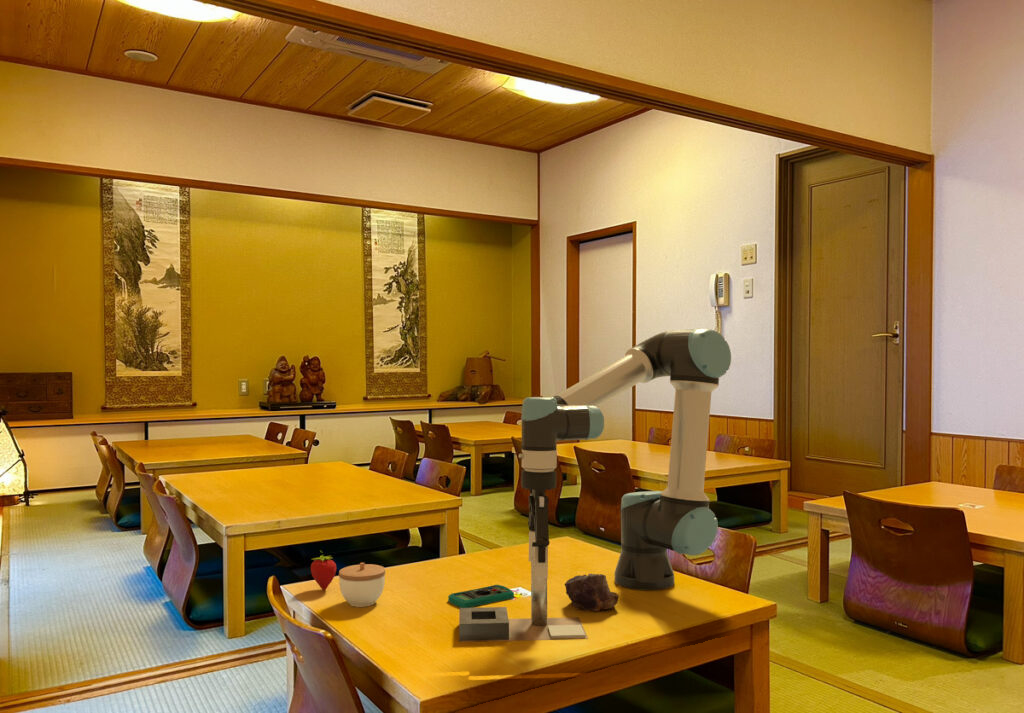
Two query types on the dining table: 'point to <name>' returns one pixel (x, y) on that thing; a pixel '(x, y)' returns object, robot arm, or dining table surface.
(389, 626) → the dining table surface
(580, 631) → the pad
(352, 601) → the lidded jar
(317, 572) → the strawberry
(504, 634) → the block
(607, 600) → the rock
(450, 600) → the digital multimeter
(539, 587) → the silver metal post
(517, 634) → the board
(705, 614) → the dining table surface
